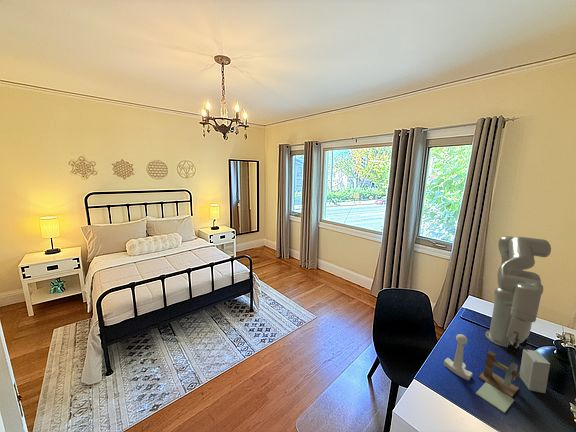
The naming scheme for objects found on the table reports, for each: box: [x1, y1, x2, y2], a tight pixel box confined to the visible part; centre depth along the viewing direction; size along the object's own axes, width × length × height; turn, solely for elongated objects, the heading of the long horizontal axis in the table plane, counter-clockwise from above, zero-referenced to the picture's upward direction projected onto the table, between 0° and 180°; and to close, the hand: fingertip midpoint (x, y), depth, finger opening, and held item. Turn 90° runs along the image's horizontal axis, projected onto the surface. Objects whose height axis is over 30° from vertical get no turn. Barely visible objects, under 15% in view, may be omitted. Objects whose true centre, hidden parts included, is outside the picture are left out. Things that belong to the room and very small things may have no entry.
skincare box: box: [518, 348, 551, 394], centre depth 108 cm, size 8×6×15 cm
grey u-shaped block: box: [503, 361, 519, 387], centre depth 106 cm, size 7×2×8 cm, turn 121°
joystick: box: [443, 333, 473, 381], centre depth 116 cm, size 11×8×20 cm
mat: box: [475, 381, 515, 414], centre depth 104 cm, size 10×10×1 cm
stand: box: [478, 350, 520, 398], centre depth 109 cm, size 8×12×13 cm, turn 31°
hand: (516, 349), depth 103 cm, fingers open, 9 cm apart
